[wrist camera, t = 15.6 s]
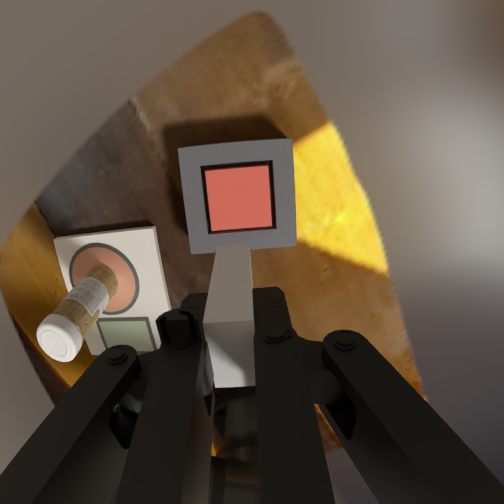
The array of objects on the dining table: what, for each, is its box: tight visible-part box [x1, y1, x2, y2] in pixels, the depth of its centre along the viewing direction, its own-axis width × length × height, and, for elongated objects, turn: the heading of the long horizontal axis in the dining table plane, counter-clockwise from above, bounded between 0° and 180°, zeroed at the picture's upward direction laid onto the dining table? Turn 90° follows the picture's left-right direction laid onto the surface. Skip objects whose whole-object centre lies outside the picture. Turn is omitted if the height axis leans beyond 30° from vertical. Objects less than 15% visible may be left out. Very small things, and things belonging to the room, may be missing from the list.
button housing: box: [178, 138, 297, 254], centre depth 33 cm, size 11×11×4 cm
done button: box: [205, 163, 272, 231], centre depth 32 cm, size 6×6×3 cm
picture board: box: [53, 226, 171, 355], centre depth 39 cm, size 18×14×1 cm
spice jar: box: [36, 266, 118, 362], centre depth 31 cm, size 5×5×14 cm
